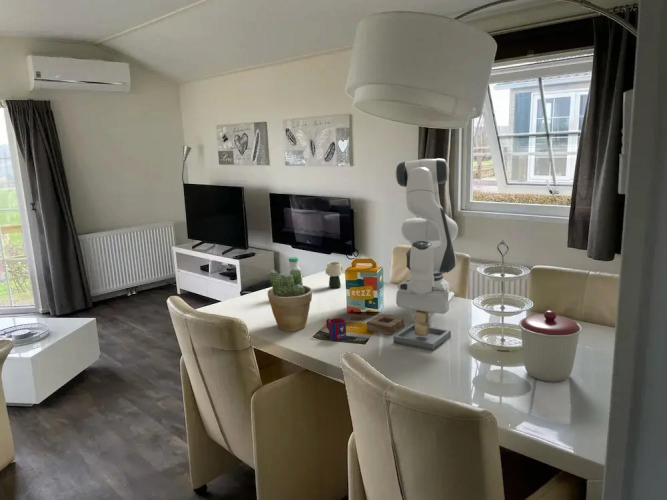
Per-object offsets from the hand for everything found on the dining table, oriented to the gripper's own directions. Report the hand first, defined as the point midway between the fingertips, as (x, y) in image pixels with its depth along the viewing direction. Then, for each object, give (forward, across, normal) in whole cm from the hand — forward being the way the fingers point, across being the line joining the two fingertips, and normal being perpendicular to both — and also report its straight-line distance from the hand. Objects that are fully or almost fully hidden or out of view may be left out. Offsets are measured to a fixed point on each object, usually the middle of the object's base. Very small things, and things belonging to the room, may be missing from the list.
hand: (422, 321), depth 197 cm
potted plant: (+8, +53, +13) cm, 55 cm away
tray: (+7, 0, 0) cm, 7 cm away
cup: (+8, +31, +13) cm, 34 cm away
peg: (+5, 0, 0) cm, 5 cm away
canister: (+8, -47, +8) cm, 48 cm away
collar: (+7, +18, -4) cm, 20 cm away
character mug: (+8, +72, -45) cm, 85 cm away
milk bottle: (+8, +79, -21) cm, 82 cm away
